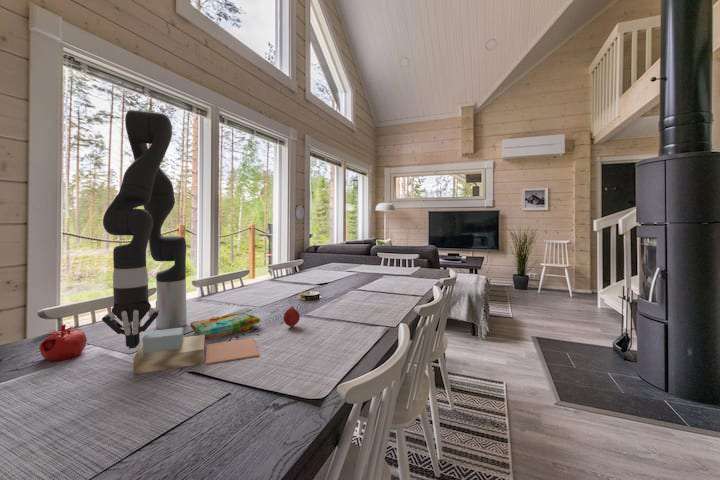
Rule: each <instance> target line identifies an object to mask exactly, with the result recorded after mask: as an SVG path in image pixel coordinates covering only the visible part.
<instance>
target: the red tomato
mask: <svg viewBox="0 0 720 480" xmlns="http://www.w3.org/2000/svg"><path fill="white" fill-rule="evenodd" d="M66 327H67V326H66V324H62V325H61V326H60V328H61V330H55V329H52V330H51V333H49V334H48V335H46V336H45V337H46V338H45V339H44V340H43V341H41V342H40V344H39V347H38V349H39V352H40V355H41V356H42V358H44V359H45V360H47V361H50V362H51V361H53V362H54V361H64V360H68V359H71V358H75V357H77V356H79V355H80V354H81V353H82V352H83V351H84V349H86V344H87V343H88V339H87V335H86V333H85V332H84V331H82V328H81V329H80V328H76V329H72V328H75V326H69V327H68V328H67V329H66ZM48 332H50V330H49V331H48ZM52 332H53V333H52Z"/></svg>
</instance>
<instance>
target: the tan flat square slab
mask: <svg viewBox="0 0 720 480" xmlns="http://www.w3.org/2000/svg"><path fill="white" fill-rule="evenodd" d="M205 351H206V352H205V353H206V354H205V365H206V366H207V365H212V364H218V363H224V362H230V361H237V360H244V359H250V358H257V357H259V355H260V354H259V351H258V348H257V344H256V342H255V338H253V337H252V338H244V339H238V340H237V339H236V340H230V341H224V342H223V341H221V342H215V343H208V344H206V349H205Z"/></svg>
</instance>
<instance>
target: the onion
mask: <svg viewBox="0 0 720 480" xmlns="http://www.w3.org/2000/svg"><path fill="white" fill-rule="evenodd" d="M294 307H295V306H294V305H292V306H290V307H289V308H288V309H287V310H286V311H285V312H284V315H283V321H284V323H285V324H286V325H287V326H289V328H293V327H295V326H296V325H297V324H298V323H299V322H300V319H301V318H300V316H301V314H300V312H299V311H298V310H297V309H296V308H294Z"/></svg>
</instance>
